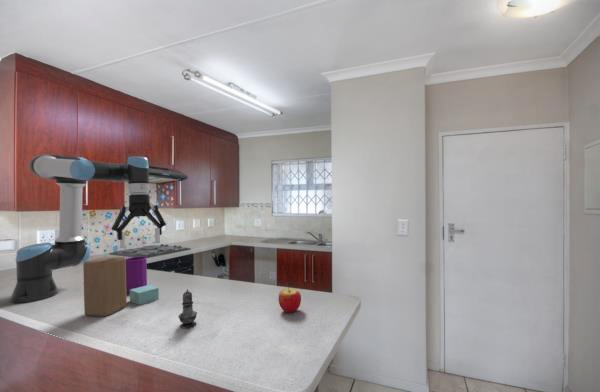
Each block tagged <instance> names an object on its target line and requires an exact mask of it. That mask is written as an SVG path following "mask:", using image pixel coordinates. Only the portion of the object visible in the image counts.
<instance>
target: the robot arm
mask: <svg viewBox="0 0 600 392" xmlns="http://www.w3.org/2000/svg"><path fill="white" fill-rule="evenodd" d="M28 168H29V171H30V172H31V173H32V174H33V175H34V176H37V177H38V178H40V179H46V180H56V181H55V183H56V185H58V186H59V222H58V223H59V225H58V226H59V227H58V228H59V231H58V237H57V238H55V240H54V244H52V243H51V242H42V243H34V244H30V245H26V246H23V247H20V248H19V249H17V251H16V258H15V262H16V265H15V266H16V283H15V286H14V289H13V291H12V295H11V297H10V298H11V303H13V304H23V303H31V302H36V301H39V300H40V301H41V300H44V299H45V300H46V299H48V298H51V297H53V296H56V295H57V294H59V292H58V286H57V285H56V282H55V280H54V278H53V271H54V270H60V269H65V268H69V267H76V266H79V265H83V264H84V262H86V261H89V258H90V256H91V252H92V251H91V249H92V248H91V246H90V242H89V241H87V240H86V237H84V236H83V235H82V228H83V227H82V224H83V223H82V222H83V188H84V187H85V186H86V185H87V184H88V183H87V182H88V181H100V182H101V181H103V182H105V181H106V182H113V183H114V182H115V183H123V182H128V184H127V185H128V194H129V195H128V206H123V205H122V206H120V207H119V208H120V209H119V213H118V214H117V217H116V219H115V220H114V223H113V224H112V226H111V231H113V232H114V231H115V232H117V233H116V236H117V240H118V241H119V243H120V244H119V247H120V248H121V249H126V241H125V240H126V237H125V236H126V233H125V232H126V231H124V229H126V227H127V225H129V223H130V222H131V221H132V220H133V219H134V218H135V217H136V218H139V217H140V218H141V217H147V219H149V221H150V222H151V223H152V224H153V225H155V228H154V237H155V239H154V240H155V241H154V242H155V243H156V244H160V243H161V236H162V234H163V231H162V229H163V227H164V226H167V223H166V221H165V220H164V217H163V216H162V214H161V212H160V211H159V206H158V204H154V205H150V204H151V200H150V199H151V198H150V194H149V193H150V173H149V171H150V170H149V169H150V167H149V160H148V158H147V157H145V156H136V155H135V156H134V155H133V156H129V157H128V158H127V162H126V163H116V162H103V161H94V160H88V159H86V158H85V157H80V156H76V155H75V156H72V155H71V156H70V155H63V154H62V155H61V154H52V153H44V154H43V153H42V154H39V155H36V156H33V157H32V158H31V159H30V161H29V163H28ZM151 210H152V211H153V214H154V216H155V217H154V216H153V215H152V213H151V212H150V211H151ZM128 211H129V214H128V215H127V216H126V218H125V219H124V217H125V214H126V213H127V212H128ZM123 219H124V220H123ZM122 220H123V221H122Z"/></svg>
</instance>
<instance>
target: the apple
mask: <svg viewBox="0 0 600 392" xmlns="http://www.w3.org/2000/svg"><path fill="white" fill-rule="evenodd" d="M285 285H286V286H287V287H288V288H285V289H281V290H280V292H279V293H278V299H277V300H278V305H279V307H280V308H281V310H282V311H284V312H285V313H294V312H296V311H297V310H299V307H300V306H301V302H302V294H301V293H300V291H299V290H297V289H295V288H290V287H289V285H288V283H287V282H286V283H285Z"/></svg>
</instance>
